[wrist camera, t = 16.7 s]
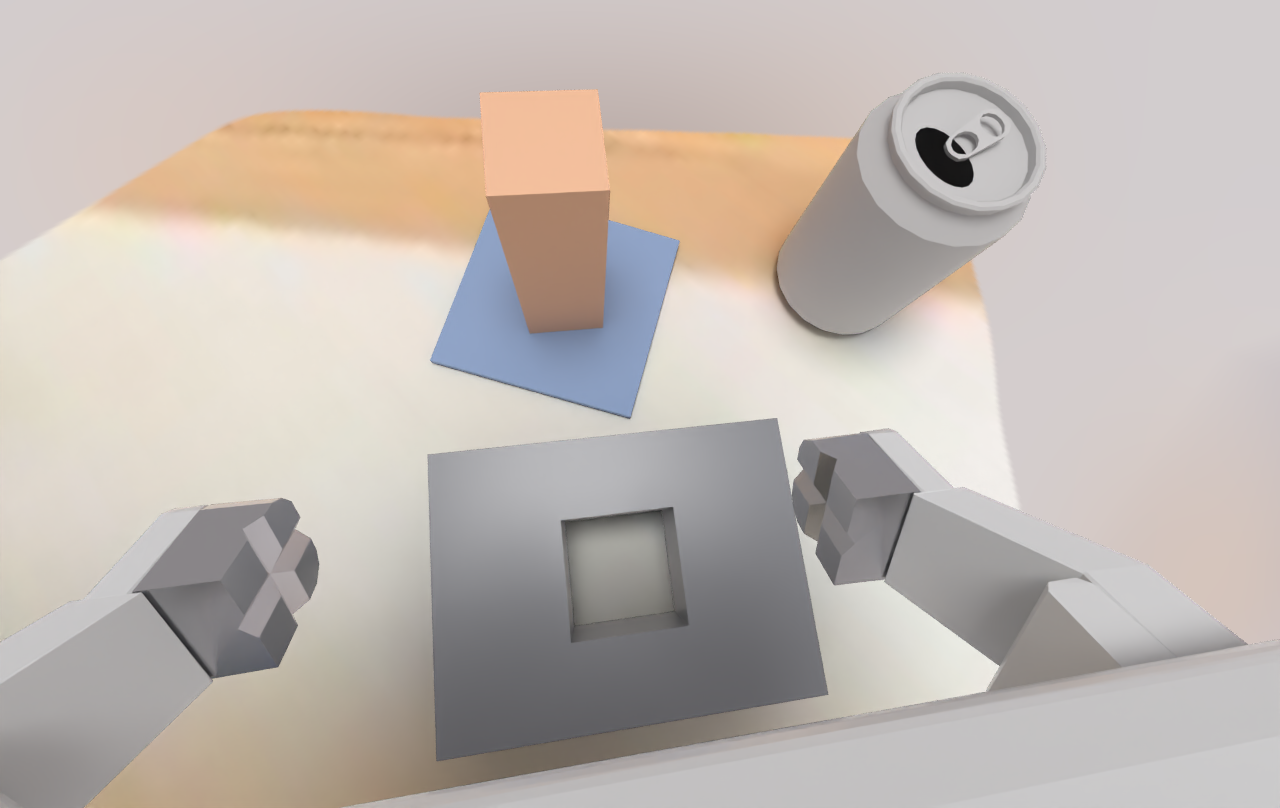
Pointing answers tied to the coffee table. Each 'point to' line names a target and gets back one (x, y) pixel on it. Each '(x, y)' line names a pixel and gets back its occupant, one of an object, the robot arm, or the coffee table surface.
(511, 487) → the grey socket block
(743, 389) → the coffee table surface
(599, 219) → the plug
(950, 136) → the can
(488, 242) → the mat
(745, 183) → the coffee table surface
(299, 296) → the coffee table surface
